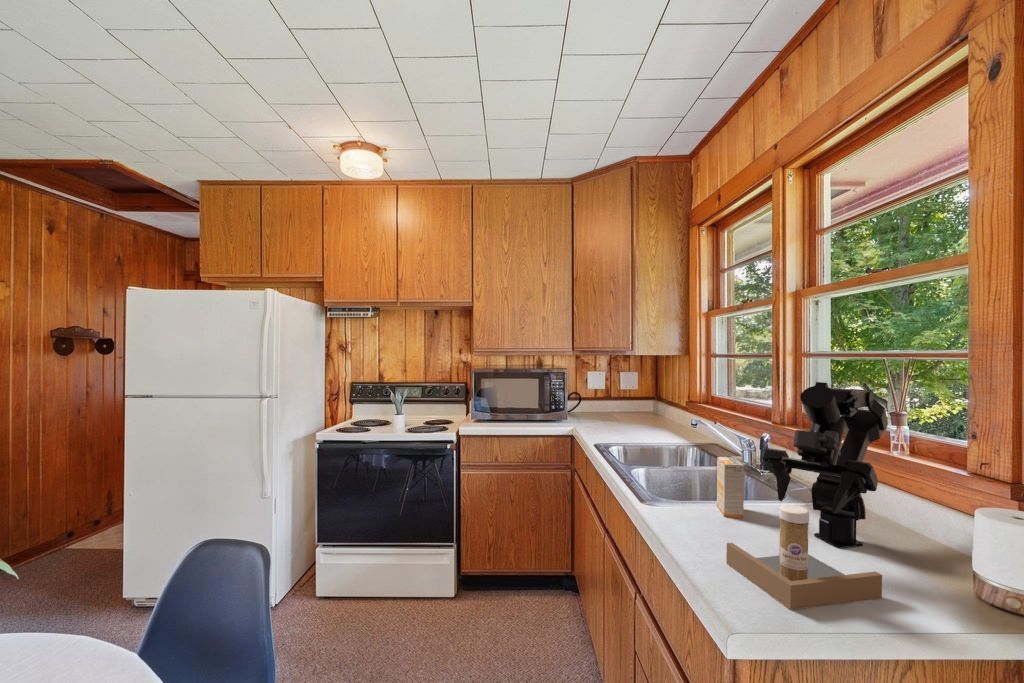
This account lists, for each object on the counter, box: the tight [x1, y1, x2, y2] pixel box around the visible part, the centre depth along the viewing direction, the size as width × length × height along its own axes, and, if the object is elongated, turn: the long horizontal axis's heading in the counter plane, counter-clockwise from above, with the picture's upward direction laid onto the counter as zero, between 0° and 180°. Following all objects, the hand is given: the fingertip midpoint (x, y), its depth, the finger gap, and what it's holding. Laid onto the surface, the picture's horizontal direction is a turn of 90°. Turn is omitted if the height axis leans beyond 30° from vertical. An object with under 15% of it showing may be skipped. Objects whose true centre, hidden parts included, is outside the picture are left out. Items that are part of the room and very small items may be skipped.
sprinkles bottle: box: [778, 504, 810, 581], centre depth 85 cm, size 5×5×14 cm
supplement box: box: [716, 456, 745, 519], centre depth 122 cm, size 8×5×13 cm, turn 168°
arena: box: [726, 542, 883, 611], centre depth 88 cm, size 18×16×4 cm
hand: (805, 505), depth 91 cm, fingers open, 9 cm apart
